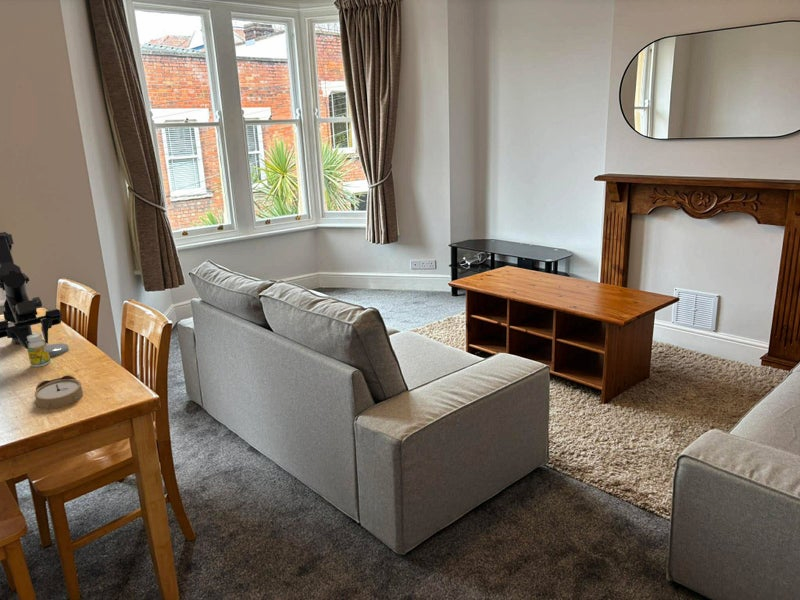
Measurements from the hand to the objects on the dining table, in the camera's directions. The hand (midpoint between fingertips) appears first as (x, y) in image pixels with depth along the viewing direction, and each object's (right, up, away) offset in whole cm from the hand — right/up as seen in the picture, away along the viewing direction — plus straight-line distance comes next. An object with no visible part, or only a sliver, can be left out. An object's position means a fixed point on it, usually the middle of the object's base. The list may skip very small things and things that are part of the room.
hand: (37, 345), depth 189 cm
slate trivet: (-3, -3, +12) cm, 13 cm away
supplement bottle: (-1, -6, +3) cm, 7 cm away
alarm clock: (+19, -13, -21) cm, 31 cm away
